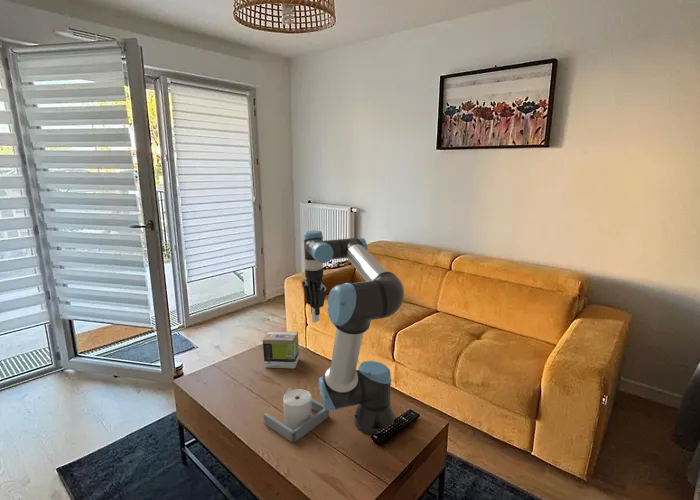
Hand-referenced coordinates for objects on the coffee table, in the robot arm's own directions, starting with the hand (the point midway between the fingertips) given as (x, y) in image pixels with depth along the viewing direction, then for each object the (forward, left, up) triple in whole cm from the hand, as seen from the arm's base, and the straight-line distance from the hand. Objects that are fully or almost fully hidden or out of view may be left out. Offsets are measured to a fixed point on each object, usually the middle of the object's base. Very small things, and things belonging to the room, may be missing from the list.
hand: (315, 321), depth 165 cm
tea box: (+25, -1, -30) cm, 39 cm away
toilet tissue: (-11, +23, -30) cm, 39 cm away
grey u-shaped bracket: (-11, +23, -29) cm, 39 cm away
